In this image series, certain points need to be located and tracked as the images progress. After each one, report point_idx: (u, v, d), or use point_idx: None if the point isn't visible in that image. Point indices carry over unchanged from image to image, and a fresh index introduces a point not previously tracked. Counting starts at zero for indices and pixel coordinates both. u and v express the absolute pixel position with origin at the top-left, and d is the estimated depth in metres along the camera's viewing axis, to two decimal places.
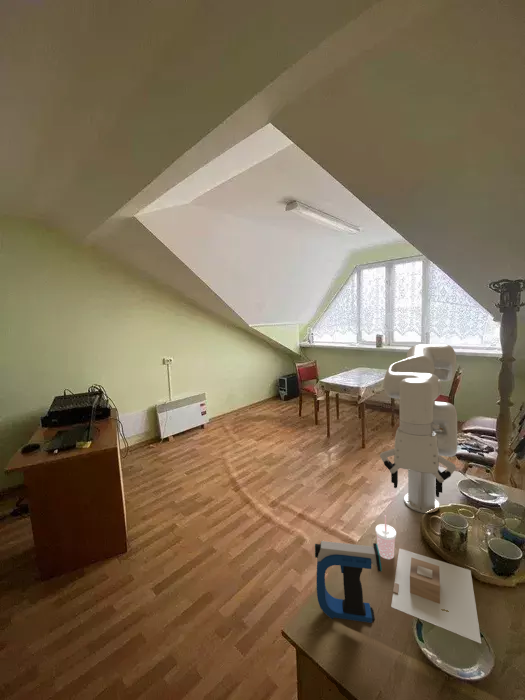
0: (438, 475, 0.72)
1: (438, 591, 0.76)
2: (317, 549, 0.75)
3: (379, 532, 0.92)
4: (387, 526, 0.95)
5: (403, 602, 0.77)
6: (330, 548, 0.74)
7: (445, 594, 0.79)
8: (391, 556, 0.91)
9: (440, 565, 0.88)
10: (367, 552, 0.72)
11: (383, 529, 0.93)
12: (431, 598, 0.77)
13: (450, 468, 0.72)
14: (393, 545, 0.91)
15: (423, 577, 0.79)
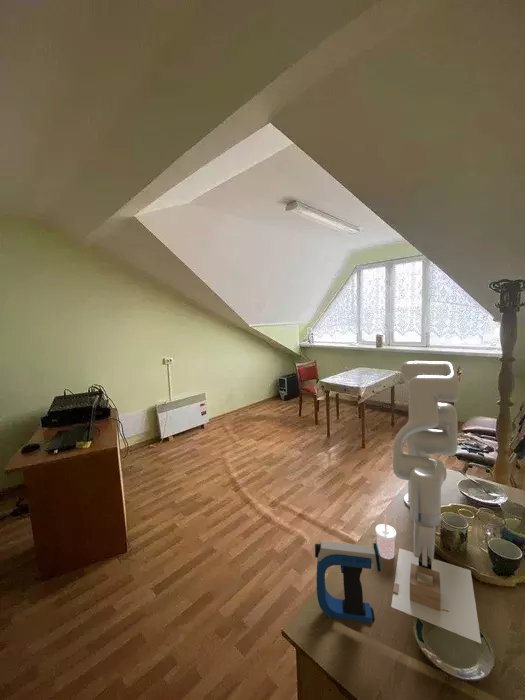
0: None
1: (439, 598, 0.74)
2: (317, 549, 0.75)
3: (379, 532, 0.92)
4: (387, 526, 0.95)
5: (403, 602, 0.77)
6: (330, 548, 0.74)
7: (445, 594, 0.79)
8: (391, 556, 0.91)
9: (440, 565, 0.88)
10: (367, 552, 0.72)
11: (383, 529, 0.93)
12: (431, 606, 0.75)
13: None
14: (393, 545, 0.91)
15: (423, 584, 0.77)
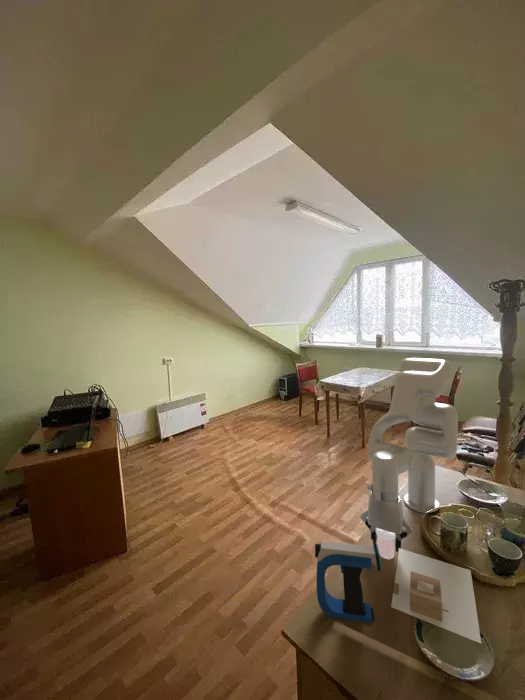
0: None
1: (440, 608, 0.72)
2: (317, 549, 0.75)
3: (379, 532, 0.92)
4: None
5: (403, 602, 0.77)
6: (330, 548, 0.74)
7: (445, 594, 0.79)
8: (391, 556, 0.91)
9: (440, 565, 0.88)
10: (367, 552, 0.72)
11: None
12: (432, 616, 0.73)
13: None
14: (393, 545, 0.91)
15: (424, 593, 0.74)
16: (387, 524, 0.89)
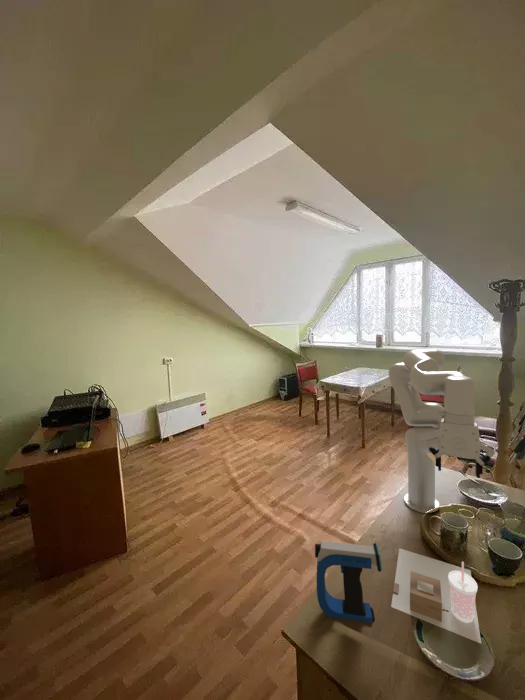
0: None
1: (440, 608, 0.72)
2: (317, 549, 0.75)
3: (455, 583, 0.72)
4: None
5: (403, 602, 0.77)
6: (330, 548, 0.74)
7: (445, 594, 0.79)
8: (471, 615, 0.71)
9: (440, 565, 0.88)
10: (367, 552, 0.72)
11: (459, 579, 0.73)
12: (432, 616, 0.73)
13: None
14: (474, 601, 0.71)
15: (424, 593, 0.74)
16: (462, 450, 0.85)
